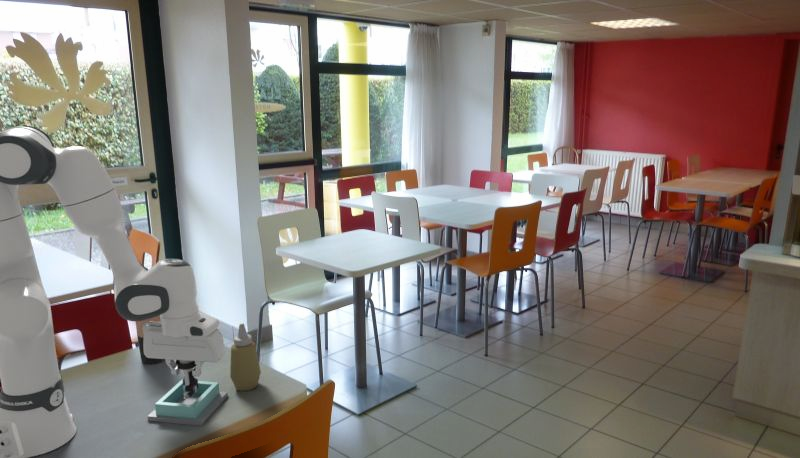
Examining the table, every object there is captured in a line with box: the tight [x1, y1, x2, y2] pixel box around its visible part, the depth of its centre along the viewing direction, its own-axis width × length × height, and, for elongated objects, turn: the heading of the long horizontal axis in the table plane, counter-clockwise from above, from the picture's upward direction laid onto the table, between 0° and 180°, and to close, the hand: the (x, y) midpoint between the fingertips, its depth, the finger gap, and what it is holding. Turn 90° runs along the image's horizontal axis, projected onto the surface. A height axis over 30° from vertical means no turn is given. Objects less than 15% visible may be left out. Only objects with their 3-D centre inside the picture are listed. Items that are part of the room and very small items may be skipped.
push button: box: [175, 360, 199, 399], centre depth 145 cm, size 7×5×10 cm
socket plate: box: [147, 379, 229, 426], centre depth 146 cm, size 14×14×4 cm
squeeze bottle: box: [229, 323, 262, 392], centre depth 155 cm, size 8×8×18 cm
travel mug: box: [135, 315, 165, 365], centre depth 171 cm, size 8×8×20 cm
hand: (186, 374), depth 144 cm, fingers closed on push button, 4 cm apart
